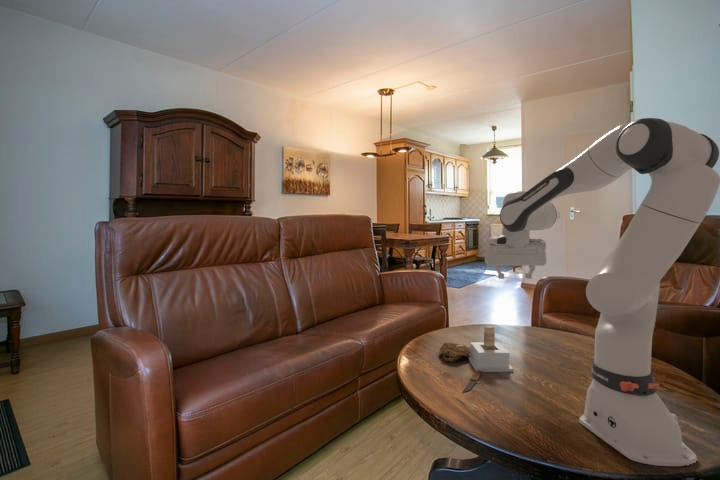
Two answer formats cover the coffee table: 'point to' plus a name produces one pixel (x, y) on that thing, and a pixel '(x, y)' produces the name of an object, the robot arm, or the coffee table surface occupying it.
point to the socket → (489, 358)
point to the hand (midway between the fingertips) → (514, 278)
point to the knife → (473, 380)
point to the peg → (489, 337)
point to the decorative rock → (453, 351)
